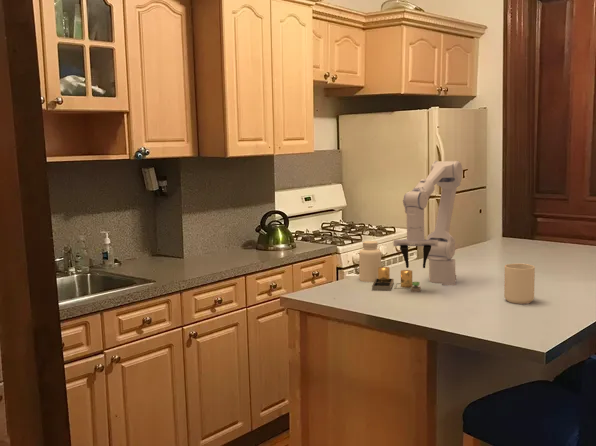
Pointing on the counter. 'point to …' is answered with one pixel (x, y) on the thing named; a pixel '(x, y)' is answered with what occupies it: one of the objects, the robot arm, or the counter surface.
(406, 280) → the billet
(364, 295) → the counter surface
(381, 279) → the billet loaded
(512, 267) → the mug
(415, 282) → the button
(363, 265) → the pill bottle
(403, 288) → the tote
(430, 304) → the counter surface
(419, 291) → the button housing
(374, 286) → the crate
